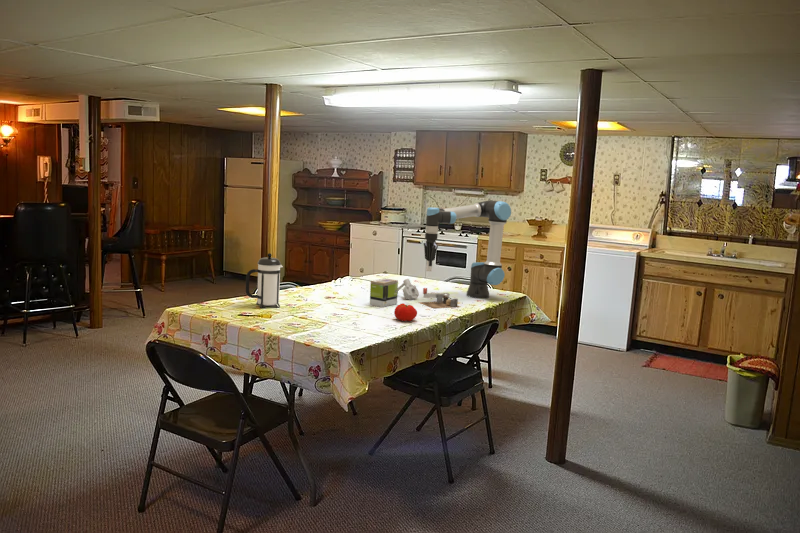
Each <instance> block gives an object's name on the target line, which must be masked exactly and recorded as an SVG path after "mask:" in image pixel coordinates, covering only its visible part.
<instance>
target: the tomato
mask: <svg viewBox="0 0 800 533" xmlns="http://www.w3.org/2000/svg"><path fill="white" fill-rule="evenodd" d="M396 305H397V306H396V307H395V309H394V311H393V313H394V314H393V315H394V317H395V318H396V319H397V320H399V321H400V322H412V320H415V319H416V317H417V315H418V311H417V309H416V308H415V307H414V306H413V305H411V304H405V303H400V304H396Z"/></svg>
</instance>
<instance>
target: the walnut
mask: <svg viewBox="0 0 800 533" xmlns="http://www.w3.org/2000/svg"><path fill="white" fill-rule="evenodd" d="M446 304H447V305H448V306H450V305H451V298H448V300H446Z"/></svg>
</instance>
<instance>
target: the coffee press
mask: <svg viewBox="0 0 800 533" xmlns="http://www.w3.org/2000/svg"><path fill="white" fill-rule="evenodd" d="M272 256H273V255H272V253H270V252H269V253H267V256H266V257H265V256H264V257H261V258H260V259H258V261H257V265H258V266H257V269H255V268H252V269H250V270H249V271H248V272H247V273H246V276H245V293H246V296H247V297H249V298H252V299H257V300H256V301H257V302H255V304H256V305H257V306H259V309H263V308H264V307H265V306H275V307H276V308H277V309H280V308H281V305H280V287H281V286H280V283H281V268H282V269H283V268H284V266H283V265H282V262H281V261H280V259H279V258H277V257H272ZM254 273H257V294H252V293H250V276H251V274H254Z"/></svg>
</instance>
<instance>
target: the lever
mask: <svg viewBox="0 0 800 533" xmlns="http://www.w3.org/2000/svg"><path fill="white" fill-rule="evenodd" d="M422 294H423V298H425V299H429V298H430V299H436V301H437V303H442V301H443V298H448V299H450V297H451V295H450V293H448V292H442V293H440V292H438V293H437V292H435V293H432V292H429V293H428V287H424V288H422Z"/></svg>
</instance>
